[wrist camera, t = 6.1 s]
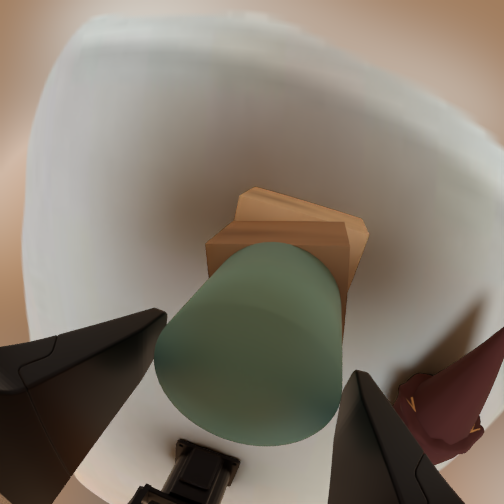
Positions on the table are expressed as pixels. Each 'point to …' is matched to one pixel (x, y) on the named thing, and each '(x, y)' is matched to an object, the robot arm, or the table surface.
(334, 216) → the tower base
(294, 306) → the sage green cylinder
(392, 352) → the table surface
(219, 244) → the tower top
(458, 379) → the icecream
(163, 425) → the table surface
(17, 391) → the robot arm
